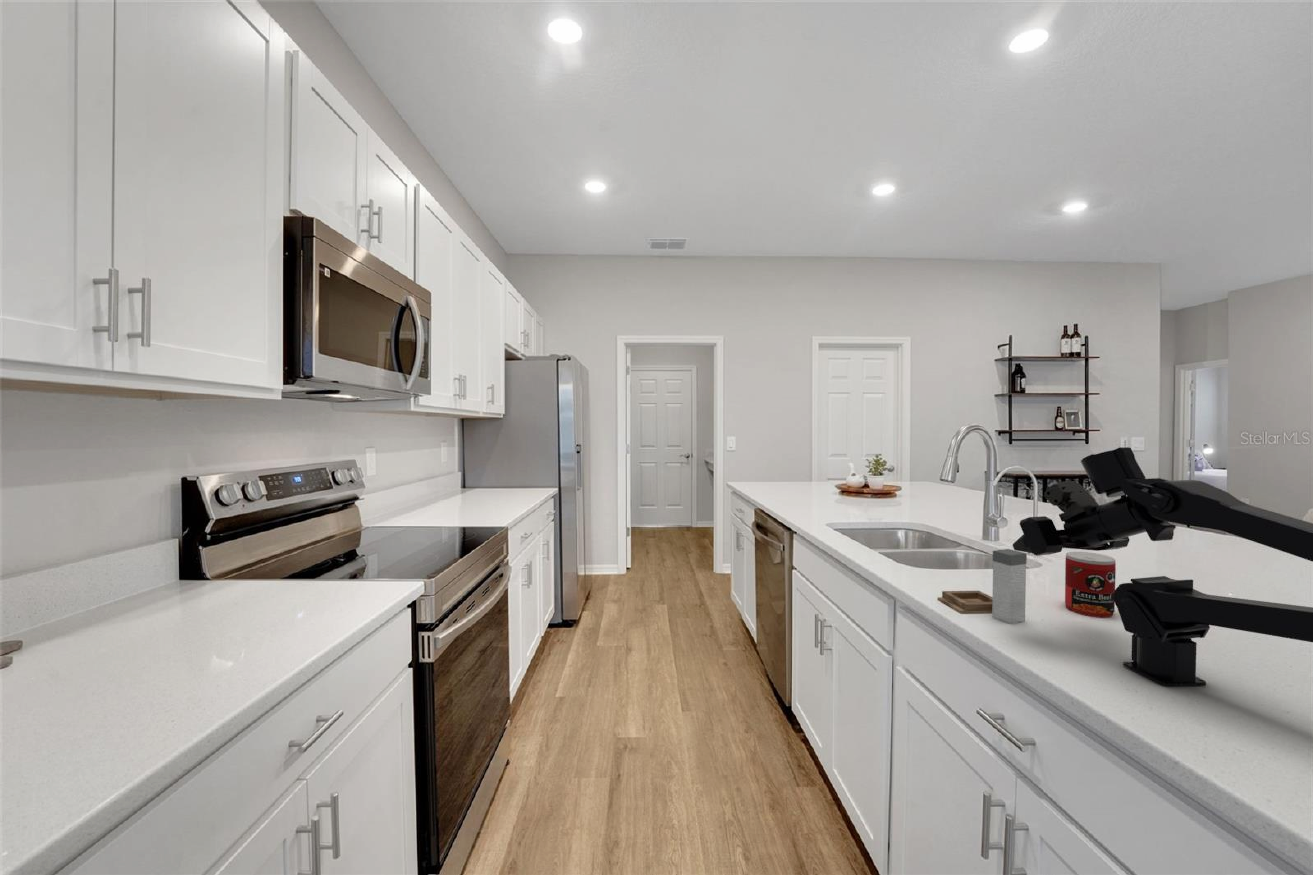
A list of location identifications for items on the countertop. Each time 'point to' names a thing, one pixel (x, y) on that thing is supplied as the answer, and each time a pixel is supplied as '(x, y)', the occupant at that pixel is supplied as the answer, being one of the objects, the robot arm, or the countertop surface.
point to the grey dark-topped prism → (1009, 585)
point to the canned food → (1090, 583)
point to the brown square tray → (967, 601)
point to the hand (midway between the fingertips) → (1034, 545)
